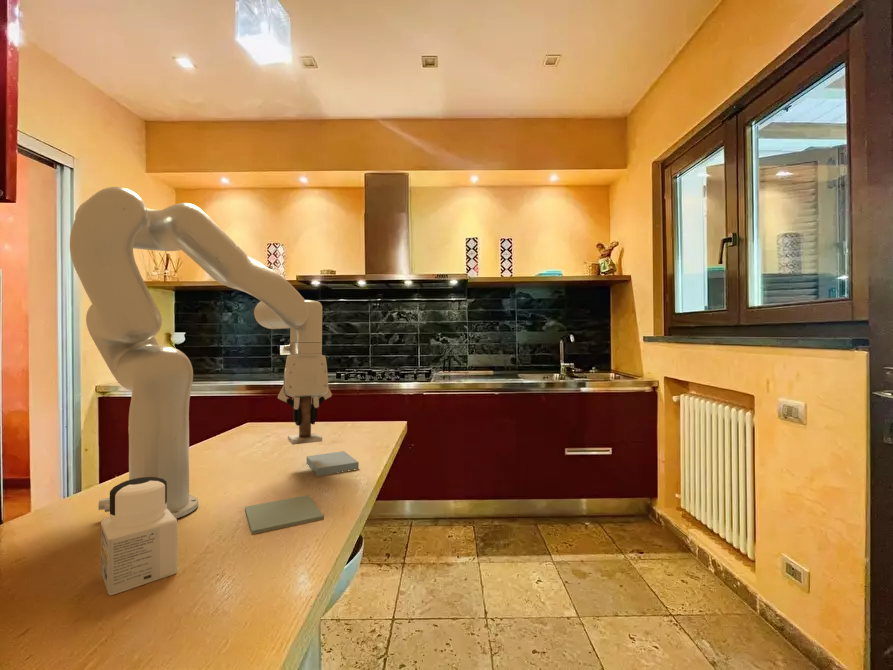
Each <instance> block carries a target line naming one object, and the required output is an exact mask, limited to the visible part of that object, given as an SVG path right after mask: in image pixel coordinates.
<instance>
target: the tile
mask: <svg viewBox="0 0 893 670" xmlns="http://www.w3.org/2000/svg"><path fill="white" fill-rule="evenodd" d="M307 464H308V465H309V466H308V465H307ZM306 465H307V466H308V468H310V469H311V470H312V472H313V473H314V474H315V475H316V476H317V477H322V476H323V475H324V476H328V475H327V474H330V475H333V474H332V473H336V474H338V473H337V472H342V471H348V470H354V469H359V465H360V464H359V461H358V460H357V459H356V458H354V457H353V456H351V455H350V454H348V453H347V452H346V451H344V450H343V451H337V452H336V451H335V452H334V451H333V452H328V453H319V454H315V455H313V454H312V455H307V456H306ZM354 471H355V470H354ZM348 472H349V471H348ZM342 473H343V472H342Z"/></svg>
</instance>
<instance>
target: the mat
mask: <svg viewBox="0 0 893 670" xmlns="http://www.w3.org/2000/svg"><path fill="white" fill-rule="evenodd" d="M244 512H245V516H246V518H247V519H246V520H247V522H248V525H249V529H250V533H251V535H255V534H261V533H265V532H269V531H274V530H278V529H285V528H288V527H293V526H297V525H301V524H306V523H307V524H308V523H311V522H316V521H320V520H321V521H322V520H324V518H325V515H324V514H323V513H322V511H321V510H320V508H319V507H318V506H317V504H316V503H315V501H314V500H313V499H312V497H311V496H310V495H309V494H307V495H302V496H295V497H290V498H285V499H279V500H274V501H268V502H263V503H258V504H252V505H248V506H244Z"/></svg>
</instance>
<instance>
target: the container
mask: <svg viewBox="0 0 893 670" xmlns="http://www.w3.org/2000/svg"><path fill="white" fill-rule="evenodd" d="M109 498H110V511H109V517H106V518H104V519H102V520H101V522H100V573H101V576H102V577H101V578H102V579H103V582H104V585H105V589H106V592H107V594H108V596H114V595H117V594H120V593H122V592H126V591H128V590H129V591H130V590H131V589H135V588H138V587H140V586H144V585H146V584H150V583H153V582H156V581H158V580H162V579H165V578H167V577H170V576H173V575H175V574H177V572H178V518H177V519H176V518H175V517H174V516H173V514H172V513H171V512H170V511H169V510H168V509H167V482H166V481H165V480H164V479H162V478H157V477H142V478H136V479H131V480H129V479H128V480H125V481H122V482H121V483H118V484H117V485H115V486H113V487H112V489H111V490H110V491H109Z"/></svg>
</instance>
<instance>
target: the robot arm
mask: <svg viewBox="0 0 893 670" xmlns="http://www.w3.org/2000/svg"><path fill="white" fill-rule="evenodd" d="M74 216H75V218H74V221H73V224H72V227H71V230H70V234H69V252H70V258H71V260H72V264H73V267H74V269H75V271H76V274H77V276H78V279H79V280H80V282H81V284H82V286H83V289H84V291H85V293H86V295H87V297H88V299H89V300H90V303H91V305H90V306H89V308H88V309H87V312H86V315H85V325H86V327H87V330H88V333H89V334H90V337H91V339H92V341H93V343H94V344H95V346H96V348H97V350H98V351H99V353H100V355H101V357H102V359H103V360H104V362H105V364H106V366H107V368H108V369H109V371H110V373H111V374H112V376H113V377H114V379H115V380H116V381H117V382H118V384H119V385H120V386H121V387H123V388H124V389H126V390H129V391H131V399H130V404H129V409H128V411H129V412H128V480H131V479H136V478H142V477H157V478H162V479H164V480H165V481H166V482H167V509H168V510H169V511H170V512H171V513H172V514H173V516H174V517H175V518H176V519H177V520H178V519H179V518H182V517H185V516H187V515H189V514H190V513H192V512H194V511H195V510H196V509H197V508H198V506H199V499H198V497H197V496H195V495H192V494H190V419H189V418H190V414H189V413H190V399H191V393H192V387H193V381H194V380H193V379H194V369H193V365H192V362H191V360H190V359H189V357H188V356H187V355H186V353H184V352H183V351H181V350H180V349H178V348H175V347H173V346H169V345H159V342H158V340H157V339H156V337H155V336H157V335H158V333H159V332H160V330H161V328H162V324H163V319H162V314H161V311H160V310H159V307H158V305H157V304H156V302H155V300H154V298H153V296H152V294H151V293H150V290H149V289H148V287H147V285H146V282H145V281H144V279H143V276H142V275H141V271H140V270H139V267H138V264H137V262H136V259H135V256H134V255H135V254H134V249H138V250H147V251H161V252H163V251H164V252H176V251H177V252H178V251H181V250H182V252H183V253H184V254H185V255H186V256H188V257H189V258H190V259H191V260H192V261H193V262H195V264H197V265H198V266H199V267H200V268H201V269H202V270H203V271H204V272H206V274H208V275H209V276H210V277H211V278H212V279H213V280H215V282H217V283H218V284H221V285H222V286H226V287H228V288H230V289H234V290H237V291H240V292H244V293H246V294H248V295H250V296H252V297H254V298H256V299H257V300H259V302H258V303H257V304H256V306H255V308H254V310H253V315H254V318H255V321H256V322H257V323H258V324H259V325H260V326H262V327H264V328H266V329H270V330H282V329H290V333H289V335H290V336H289V337H290V339H289V344H287V345H286V344H285V345H283V350H284V352H289V355H286V356H287V357H286V359H285V360H286V361H285V365H284V366H285V367H284V375H283V386H282V387H281V389H280V391H279V393H278V396H277V399H278V400H280V401H282V402H285V403H287V404H288V405H289V406H290V407H291V408H292V421H293V423H295V425H296V426H297V427H299V426H300V425H301V409H300V407H299V401H300V397H304V396H311V426H312V425H315V424H316V421H318V408H319V407H320V405H321V404H322V403H323V402H324V401H325V400H327V399H329V398H331V397H332V396H333V393H332V392H331V389H330V387H329V377H328V373H329V372H328V364H327V358H326V355H323V352H322V351H323V305H322V303H321V302H320V301H318V300H314V299H313V300H311V299H305V298H304V297H303V296H302V294H300V292H299V291H298V290H297V289H296V288H295V287H294V286H293V285H292V284H291V283H290V282H289V281H288V280H287V279H285V278H284V277H283V276H282V275H281V274H279V273H278V272H276V271H275V270H273V269H271V268H270V267H268V266H266V265H264V264H263V263H262V262H260V261H258V260H257V259H255V258H252V257H251V256H249V255H248V254H247V253H246V252H245V251H243V249H242V248H241V247H240V246H239V245H238V244H236V242H235V241H234V240H232V238H231V237H230V236H229V235H227V233H226V232H225V231H224V230H223V229H222V228H221V227H220V226H219V225H218V224H217V223H216V222H215V221H214V220H213V219H212V218H211V217H210V216H209V215H208V213H206V212H205V211H204V210H202V209H201V208H200V207H198V206H197V205H195V204H193V203H189V202H181V203H175V204H172V205H170V206H167V207H165V208H163V209H152V208H147V205H146V204H145V202H144V200H143V199H142V198H141V196H140V195H139V194H137V193H136V192H135V191H133V190H131V189H129V188H127V187H122V186H110V187H106V188H105V187H104V188H102V189H99V190H98V191H97V192H96V193H94V194H92V195H91V196H90V197H89V198H88V199H87V200H85V201H84V202H83V203H82V204H80V205H79V206H78V208H77V210H76V212H75V215H74ZM288 396H289V397H288ZM290 397H291V398H290ZM103 510H104V513H107V512H109V513H110V497H107V498H106V497H105V498H100V499H99V500H98V511H103Z"/></svg>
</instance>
